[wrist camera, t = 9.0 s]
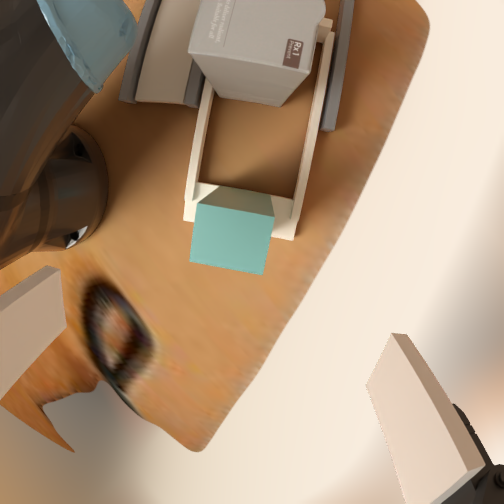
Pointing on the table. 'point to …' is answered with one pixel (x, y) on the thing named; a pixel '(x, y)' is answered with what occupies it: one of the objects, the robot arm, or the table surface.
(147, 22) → the lane bed
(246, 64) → the skincare box
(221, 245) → the white and teal frame
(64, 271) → the table surface
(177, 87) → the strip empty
